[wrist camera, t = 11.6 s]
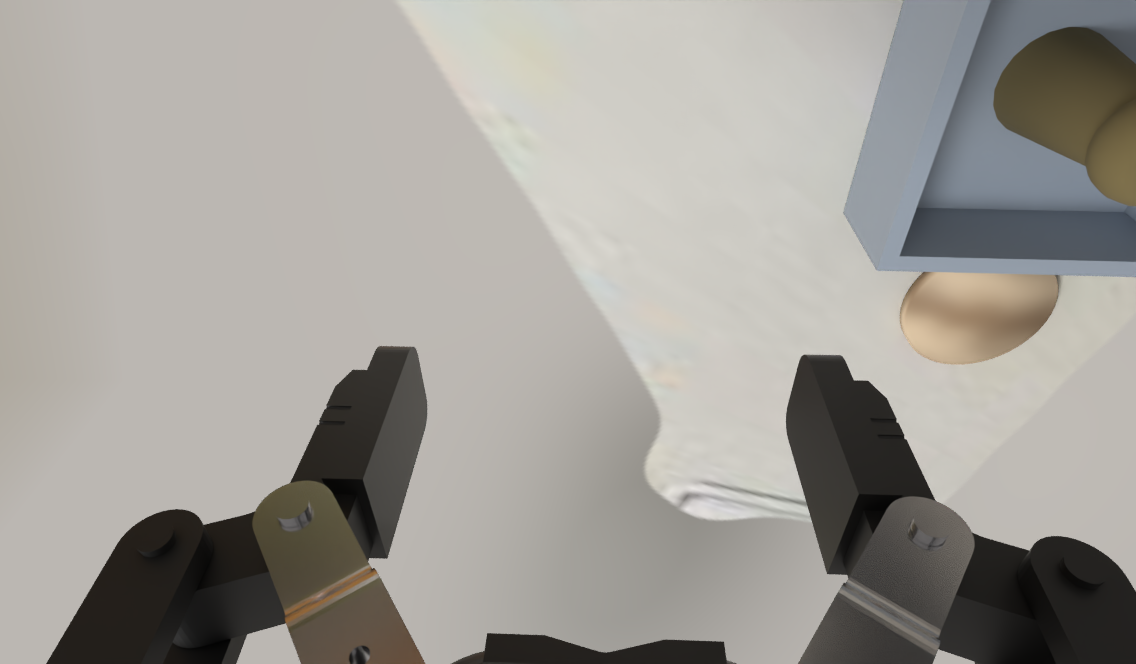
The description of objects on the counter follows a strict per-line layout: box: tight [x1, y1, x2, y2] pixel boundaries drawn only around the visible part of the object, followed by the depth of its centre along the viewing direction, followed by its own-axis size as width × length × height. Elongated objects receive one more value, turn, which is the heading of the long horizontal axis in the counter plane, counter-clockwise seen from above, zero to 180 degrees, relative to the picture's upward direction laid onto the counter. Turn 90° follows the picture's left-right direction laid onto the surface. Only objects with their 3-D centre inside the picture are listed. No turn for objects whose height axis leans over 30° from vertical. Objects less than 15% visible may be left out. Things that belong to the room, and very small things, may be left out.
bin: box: [844, 0, 1136, 277], centre depth 36 cm, size 18×18×7 cm
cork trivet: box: [900, 272, 1058, 364], centre depth 48 cm, size 10×10×1 cm
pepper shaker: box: [993, 27, 1136, 206], centre depth 34 cm, size 6×6×11 cm
